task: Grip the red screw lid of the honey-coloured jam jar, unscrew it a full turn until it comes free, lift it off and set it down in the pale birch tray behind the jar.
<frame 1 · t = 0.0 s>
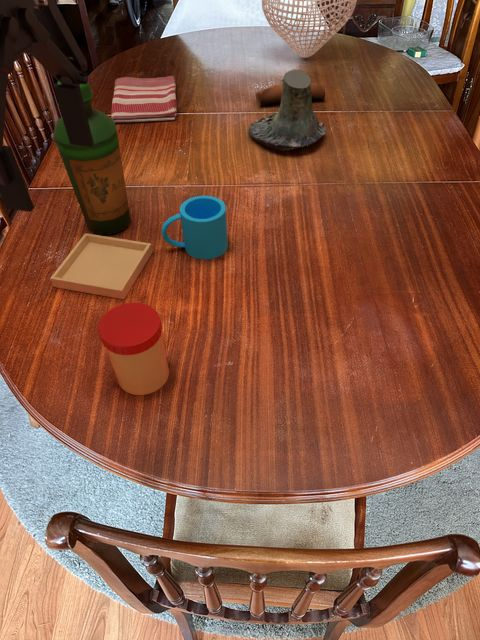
hand: (53, 174, 56), 30 cm above the table, tool pointing down, fingers open, 13 cm apart
tray: (104, 269, 91), on the table
heart: (305, 57, 158), on the table
bottle: (110, 224, 101), on the table
dish towel: (145, 103, 136), on the table
lid: (129, 325, 68), point 11 cm above the table, screwed on, not yet turned
tree stump: (287, 137, 125), on the table
mug: (196, 247, 96), on the table
sunglasses case: (289, 99, 139), on the table
jar: (143, 374, 76), on the table
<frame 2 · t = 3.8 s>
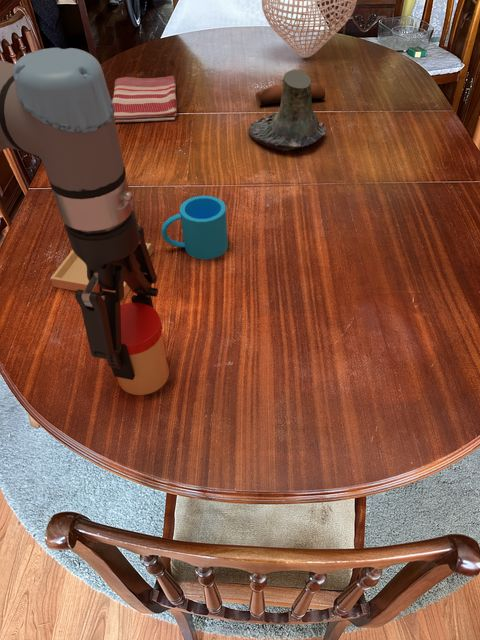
hand: (137, 352, 72), 5 cm above the table, tool pointing down, fingers closed on lid, 8 cm apart
lid: (129, 325, 68), point 11 cm above the table, screwed on, not yet turned, touching gripper
everything else where it was.
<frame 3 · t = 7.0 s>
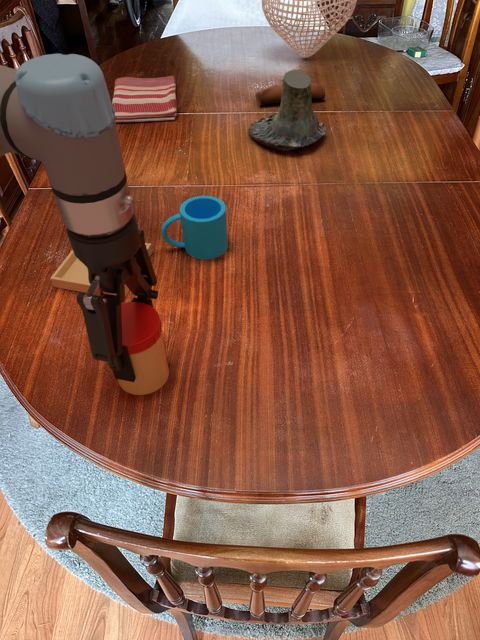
hand: (137, 354, 72), 5 cm above the table, tool pointing down, fingers closed on lid, 8 cm apart
lid: (129, 324, 67), point 11 cm above the table, turned 96° so far, risen 0.1 cm, still on its thread, touching gripper
everything else where it was.
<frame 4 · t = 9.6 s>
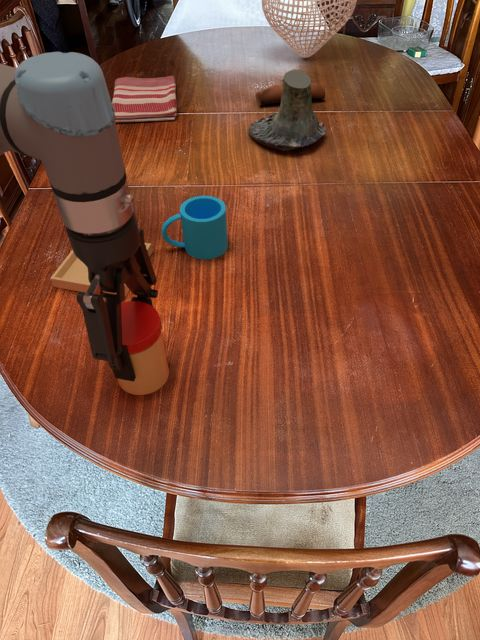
hand: (137, 353, 72), 5 cm above the table, tool pointing down, fingers closed on lid, 8 cm apart
lid: (129, 324, 67), point 11 cm above the table, turned 192° so far, risen 0.3 cm, still on its thread, touching gripper
everything else where it was.
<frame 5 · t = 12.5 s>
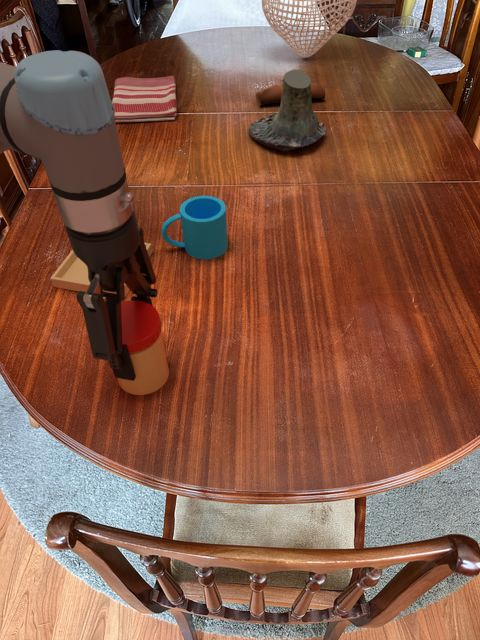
hand: (137, 353, 72), 5 cm above the table, tool pointing down, fingers closed on lid, 8 cm apart
lid: (129, 323, 67), point 11 cm above the table, turned 288° so far, risen 0.4 cm, still on its thread, touching gripper
everything else where it was.
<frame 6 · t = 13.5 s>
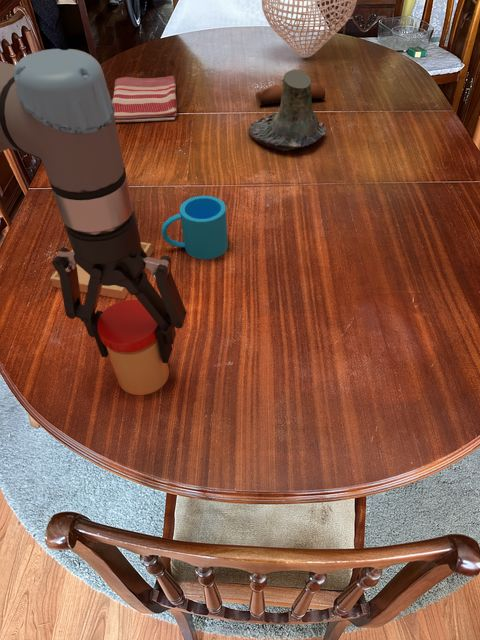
hand: (137, 352, 72), 5 cm above the table, tool pointing down, fingers closed on lid, 8 cm apart
lid: (129, 322, 67), point 11 cm above the table, off its thread, touching gripper
everything else where it was.
when the fingers open (2 cm above the table, at t = 21.1 s): lid drops 6 cm, resting on tray.
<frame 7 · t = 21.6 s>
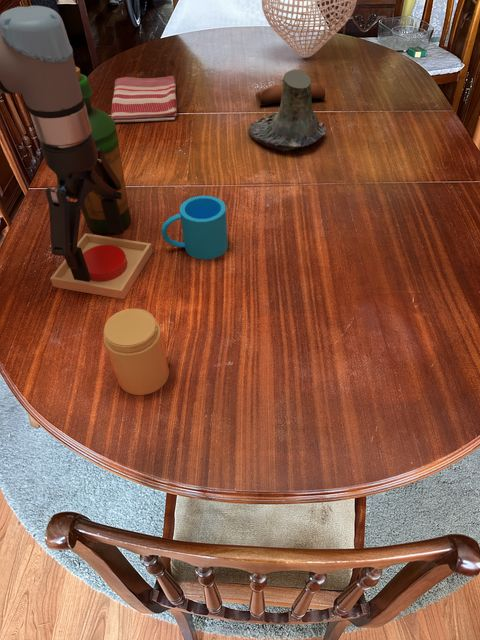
hand: (100, 254, 89), 3 cm above the table, tool pointing down, fingers open, 13 cm apart
lid: (102, 260, 90), point 2 cm above the table, off its thread, touching tray
everything else where it was.
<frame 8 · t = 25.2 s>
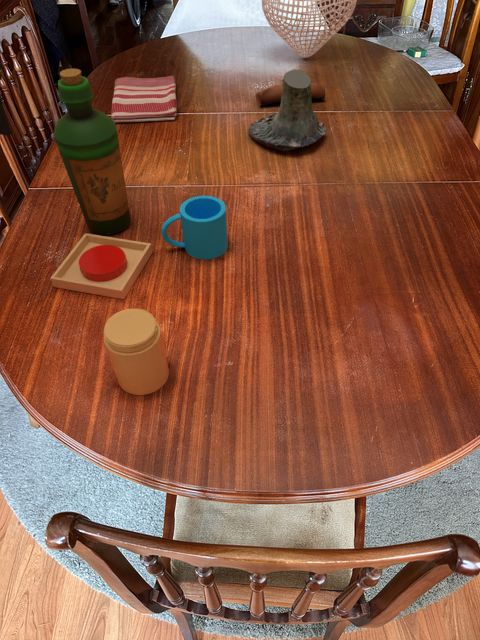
nothing on the table moved.
at the end: lid came off its thread; lid inside the target area on the tray (0.0 cm from its centre), point 1.9 cm above the tray's base; the gripper is holding nothing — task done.
